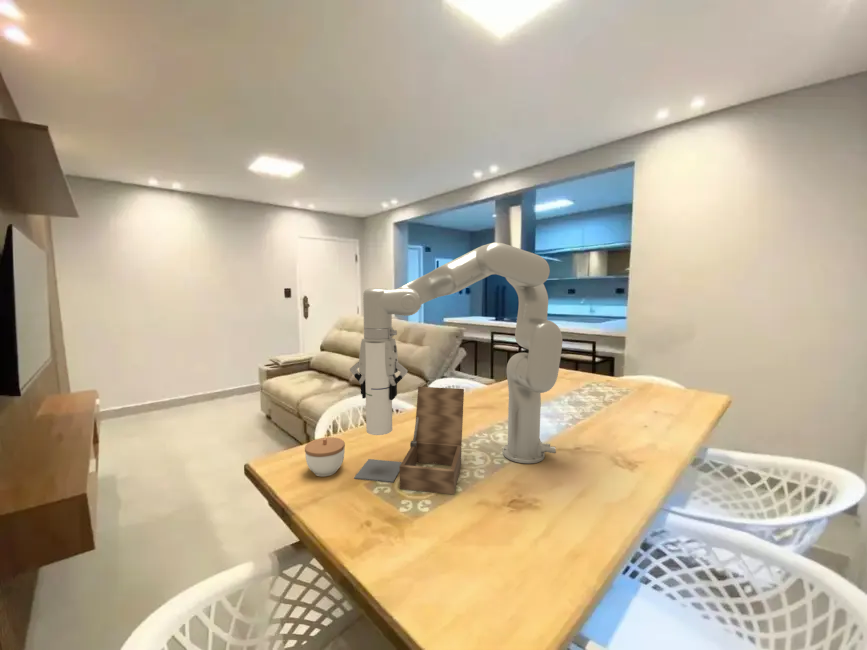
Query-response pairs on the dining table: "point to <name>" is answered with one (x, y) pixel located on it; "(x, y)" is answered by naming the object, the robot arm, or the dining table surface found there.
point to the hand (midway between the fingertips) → (378, 397)
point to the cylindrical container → (377, 391)
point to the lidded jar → (325, 455)
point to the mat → (379, 471)
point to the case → (435, 441)
